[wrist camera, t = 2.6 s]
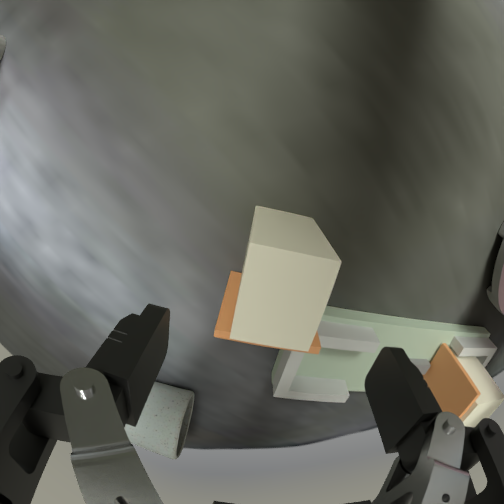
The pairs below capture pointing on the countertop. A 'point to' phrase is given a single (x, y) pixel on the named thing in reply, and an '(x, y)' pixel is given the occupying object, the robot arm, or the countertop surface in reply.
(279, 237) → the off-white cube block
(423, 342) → the rail
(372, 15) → the countertop surface
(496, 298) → the blender
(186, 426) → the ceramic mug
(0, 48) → the house plant
